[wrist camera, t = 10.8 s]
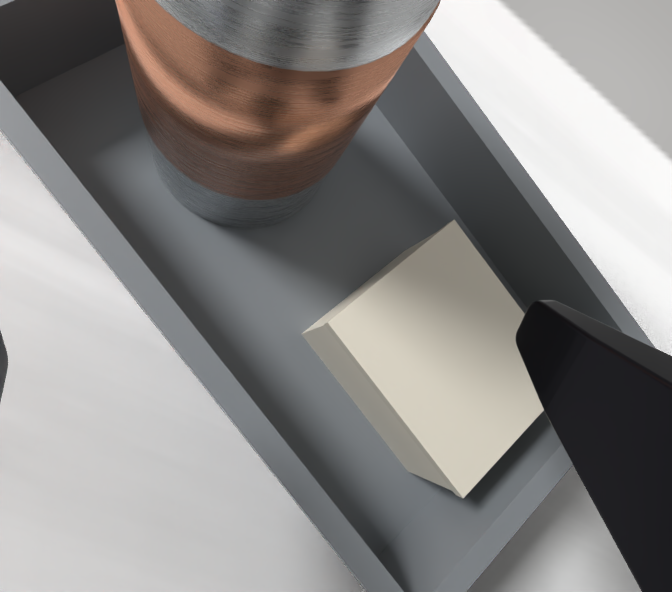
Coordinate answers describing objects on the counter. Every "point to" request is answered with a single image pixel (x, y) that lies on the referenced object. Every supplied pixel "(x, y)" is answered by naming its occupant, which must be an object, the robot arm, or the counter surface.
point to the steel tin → (260, 93)
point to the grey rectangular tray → (307, 280)
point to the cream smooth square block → (434, 360)
